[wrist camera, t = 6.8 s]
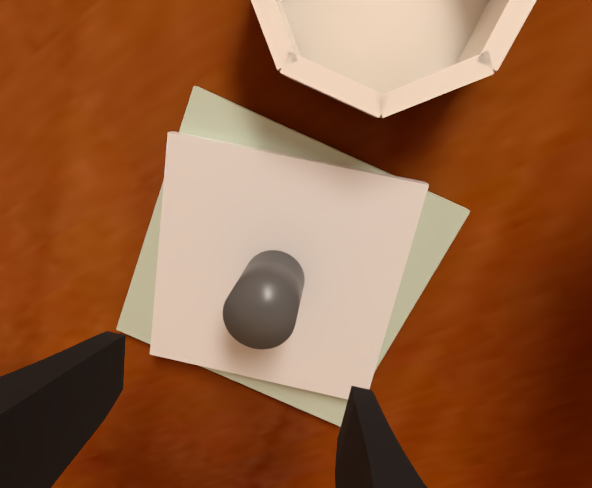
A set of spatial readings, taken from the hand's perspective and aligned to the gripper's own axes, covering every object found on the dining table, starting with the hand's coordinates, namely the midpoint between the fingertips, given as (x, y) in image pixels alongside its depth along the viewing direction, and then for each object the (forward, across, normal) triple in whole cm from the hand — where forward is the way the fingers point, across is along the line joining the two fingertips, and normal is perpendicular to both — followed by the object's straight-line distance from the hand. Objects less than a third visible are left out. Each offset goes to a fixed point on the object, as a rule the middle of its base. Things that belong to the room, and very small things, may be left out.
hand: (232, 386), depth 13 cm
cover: (+9, 0, 0) cm, 9 cm away
